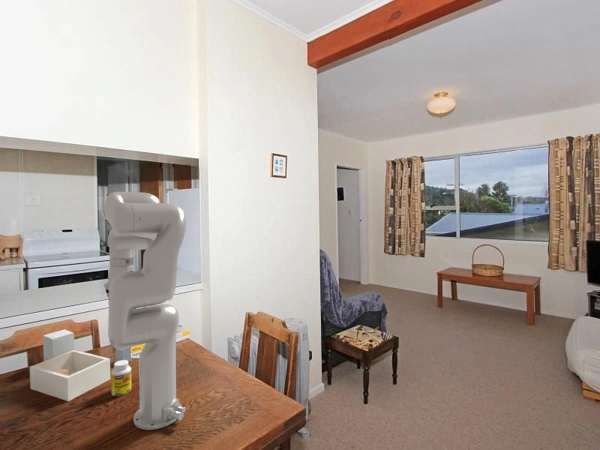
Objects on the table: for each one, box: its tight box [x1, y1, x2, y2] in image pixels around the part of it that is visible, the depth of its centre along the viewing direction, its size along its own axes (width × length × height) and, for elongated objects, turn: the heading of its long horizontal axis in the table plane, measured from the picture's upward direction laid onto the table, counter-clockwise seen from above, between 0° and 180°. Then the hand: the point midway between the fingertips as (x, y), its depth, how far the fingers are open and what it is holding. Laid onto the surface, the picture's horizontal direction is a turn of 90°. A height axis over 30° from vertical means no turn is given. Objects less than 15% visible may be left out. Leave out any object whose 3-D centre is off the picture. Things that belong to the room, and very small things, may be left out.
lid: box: [114, 347, 140, 363], centre depth 125 cm, size 19×15×7 cm
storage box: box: [29, 349, 111, 402], centre depth 109 cm, size 18×14×8 cm
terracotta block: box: [53, 369, 68, 376], centre depth 109 cm, size 4×4×4 cm
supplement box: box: [42, 329, 75, 362], centre depth 122 cm, size 7×7×13 cm
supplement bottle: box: [110, 360, 132, 397], centre depth 105 cm, size 6×6×10 cm
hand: (122, 308), depth 124 cm, fingers open, 9 cm apart
